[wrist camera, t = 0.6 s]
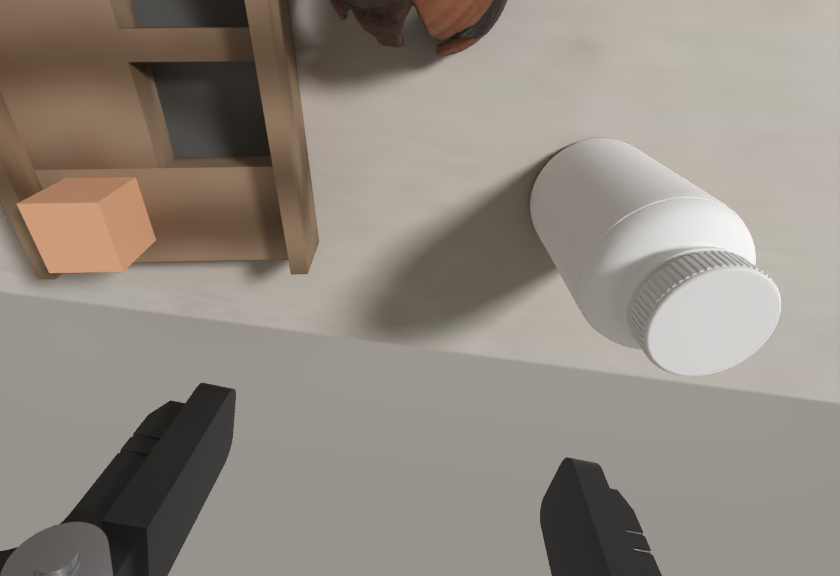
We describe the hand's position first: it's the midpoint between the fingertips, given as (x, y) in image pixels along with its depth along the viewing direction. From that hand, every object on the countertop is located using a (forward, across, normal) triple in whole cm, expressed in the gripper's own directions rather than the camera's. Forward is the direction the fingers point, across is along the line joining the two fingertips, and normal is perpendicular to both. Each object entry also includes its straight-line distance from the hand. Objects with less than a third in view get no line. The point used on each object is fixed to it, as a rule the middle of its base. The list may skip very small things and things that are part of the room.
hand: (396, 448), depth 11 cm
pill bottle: (+23, -11, -2) cm, 25 cm away
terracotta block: (+18, +18, +4) cm, 26 cm away
